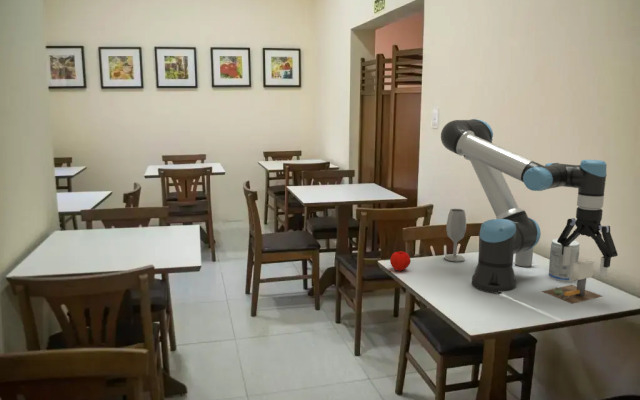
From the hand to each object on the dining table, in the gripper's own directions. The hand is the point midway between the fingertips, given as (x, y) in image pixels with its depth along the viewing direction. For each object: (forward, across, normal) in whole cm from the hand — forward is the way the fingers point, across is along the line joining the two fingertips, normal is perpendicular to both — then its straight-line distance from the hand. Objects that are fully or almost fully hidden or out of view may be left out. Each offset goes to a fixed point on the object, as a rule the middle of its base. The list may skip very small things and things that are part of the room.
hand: (583, 270), depth 171 cm
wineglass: (+9, +52, +9) cm, 54 cm away
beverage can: (+10, +34, -11) cm, 37 cm away
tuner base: (+10, +2, +2) cm, 10 cm away
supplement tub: (+10, +15, -10) cm, 21 cm away
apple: (+9, +50, +38) cm, 64 cm away
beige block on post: (+8, 0, +1) cm, 9 cm away
